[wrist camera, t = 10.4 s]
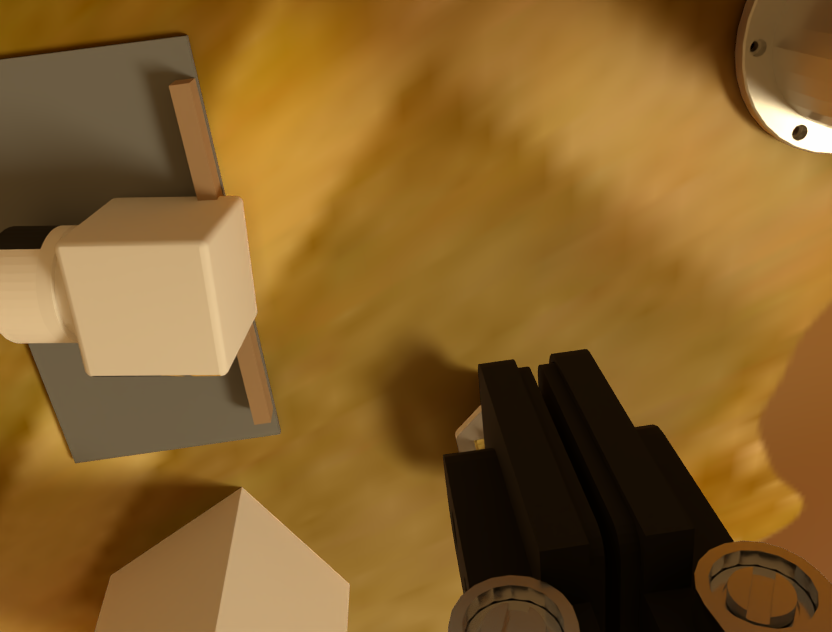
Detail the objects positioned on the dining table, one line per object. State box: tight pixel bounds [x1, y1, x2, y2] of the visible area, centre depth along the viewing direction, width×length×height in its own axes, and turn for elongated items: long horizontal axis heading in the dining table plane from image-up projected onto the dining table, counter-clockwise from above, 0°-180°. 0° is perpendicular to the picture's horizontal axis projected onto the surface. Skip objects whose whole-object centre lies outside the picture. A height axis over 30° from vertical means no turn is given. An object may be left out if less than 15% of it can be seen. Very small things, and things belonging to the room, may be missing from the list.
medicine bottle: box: [0, 196, 257, 377], centre depth 39 cm, size 7×7×12 cm
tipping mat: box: [0, 35, 281, 463], centre depth 42 cm, size 13×24×2 cm, turn 6°
